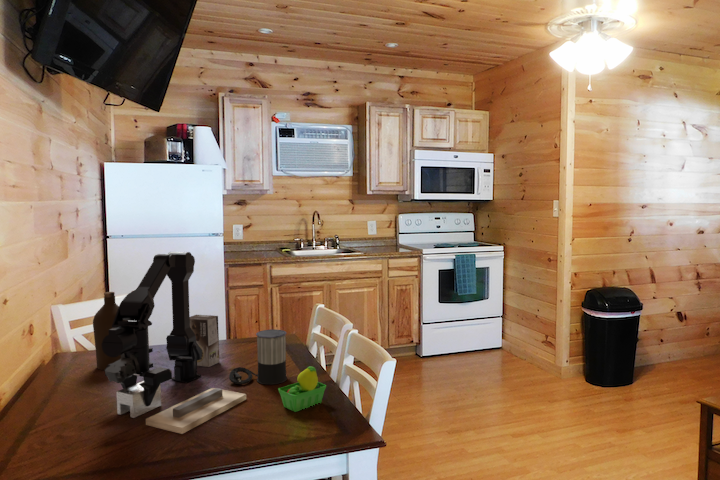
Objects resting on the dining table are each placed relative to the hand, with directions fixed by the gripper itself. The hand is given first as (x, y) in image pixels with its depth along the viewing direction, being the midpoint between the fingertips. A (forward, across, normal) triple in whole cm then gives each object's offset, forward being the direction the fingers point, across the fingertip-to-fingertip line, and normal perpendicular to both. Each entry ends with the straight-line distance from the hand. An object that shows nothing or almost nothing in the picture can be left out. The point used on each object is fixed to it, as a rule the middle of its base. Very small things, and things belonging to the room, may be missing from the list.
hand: (139, 403), depth 139 cm
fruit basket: (+2, +38, +21) cm, 43 cm away
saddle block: (+2, 0, 0) cm, 2 cm away
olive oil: (+2, -39, +23) cm, 45 cm away
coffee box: (+2, -13, +38) cm, 40 cm away
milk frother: (+2, +15, +32) cm, 35 cm away
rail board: (+2, +15, +6) cm, 16 cm away
